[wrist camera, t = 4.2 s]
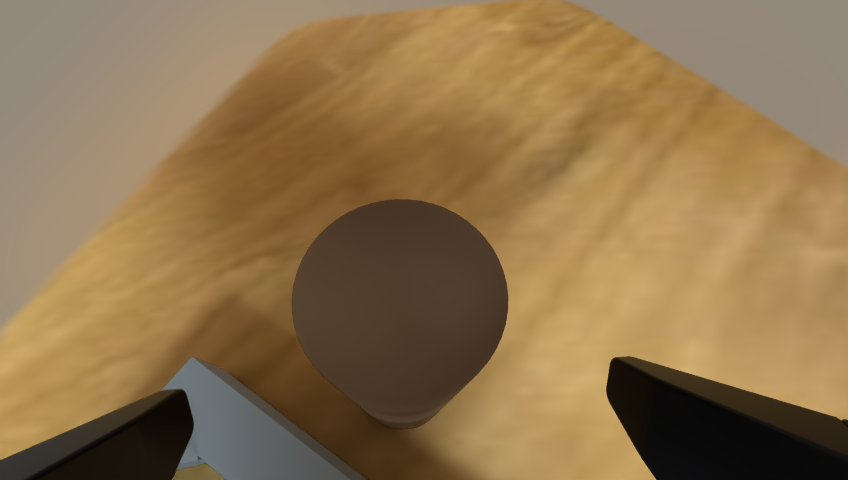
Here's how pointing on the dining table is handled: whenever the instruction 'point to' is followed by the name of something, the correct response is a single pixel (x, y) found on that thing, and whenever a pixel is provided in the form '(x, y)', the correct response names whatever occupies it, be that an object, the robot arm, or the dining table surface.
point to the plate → (248, 432)
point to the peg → (400, 307)
